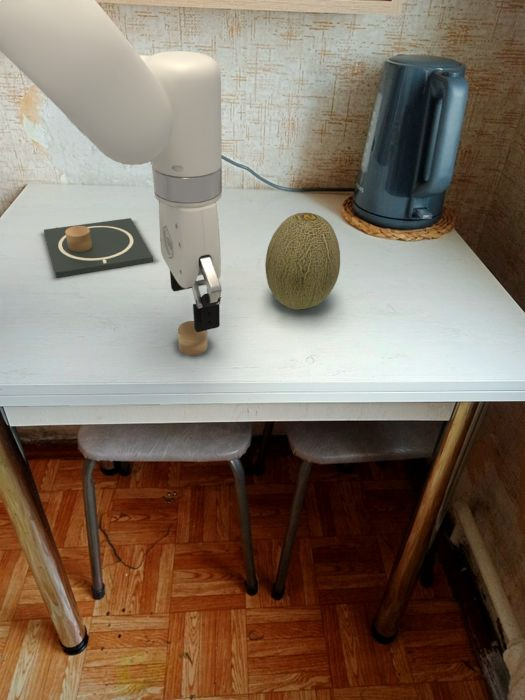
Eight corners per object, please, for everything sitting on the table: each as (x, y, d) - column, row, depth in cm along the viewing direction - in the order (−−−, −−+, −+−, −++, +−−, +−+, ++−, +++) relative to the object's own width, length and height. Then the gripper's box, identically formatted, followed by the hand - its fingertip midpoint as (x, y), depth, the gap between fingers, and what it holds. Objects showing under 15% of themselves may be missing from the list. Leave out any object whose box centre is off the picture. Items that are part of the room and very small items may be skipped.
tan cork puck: (70, 253, 87) (67, 237, 85) (66, 243, 89) (63, 227, 87) (94, 250, 88) (91, 234, 86) (90, 239, 91) (87, 224, 89)
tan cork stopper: (183, 358, 69) (182, 341, 67) (175, 341, 72) (173, 324, 70) (211, 351, 71) (211, 334, 69) (201, 335, 73) (201, 318, 71)
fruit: (328, 329, 76) (344, 238, 67) (255, 317, 77) (261, 226, 68) (336, 290, 85) (351, 204, 75) (270, 279, 86) (277, 194, 77)
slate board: (56, 277, 83) (55, 271, 82) (44, 234, 94) (43, 228, 93) (153, 261, 88) (152, 255, 88) (131, 222, 99) (130, 217, 99)
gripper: (135, 158, 61) (149, 280, 72) (178, 219, 49) (187, 354, 60) (194, 152, 64) (199, 270, 75) (250, 208, 52) (246, 339, 63)
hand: (194, 307), depth 67 cm, fingers open, 9 cm apart
